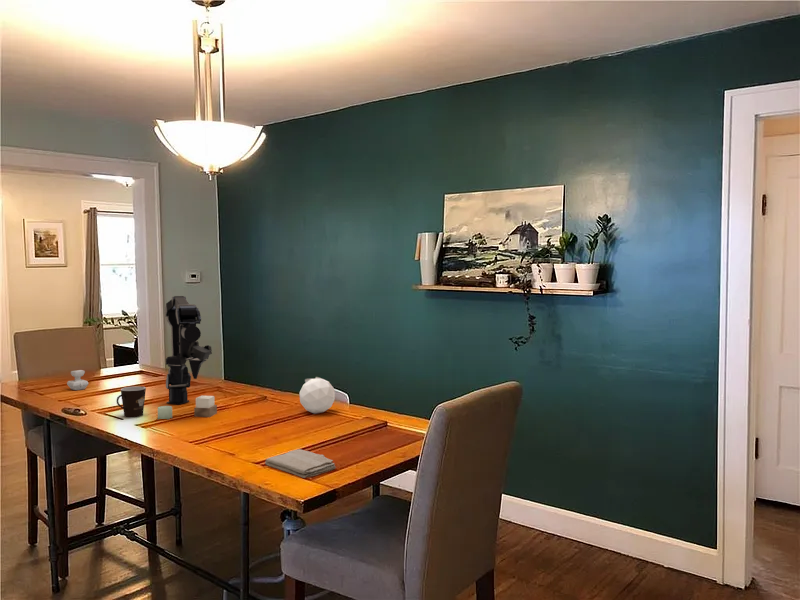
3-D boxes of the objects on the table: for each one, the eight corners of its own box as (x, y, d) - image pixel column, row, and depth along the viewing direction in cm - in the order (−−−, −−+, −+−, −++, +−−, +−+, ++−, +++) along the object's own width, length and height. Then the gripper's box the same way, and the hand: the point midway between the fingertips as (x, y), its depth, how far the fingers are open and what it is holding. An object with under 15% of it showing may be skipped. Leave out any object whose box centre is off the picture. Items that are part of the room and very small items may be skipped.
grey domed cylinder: (154, 419, 229) (154, 408, 229) (163, 416, 234) (163, 405, 234) (166, 420, 228) (166, 409, 227) (175, 417, 232) (175, 406, 232)
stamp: (65, 389, 282) (65, 370, 282) (80, 387, 288) (80, 368, 287) (74, 391, 277) (74, 372, 276) (90, 389, 282) (89, 370, 281)
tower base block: (194, 417, 233) (194, 407, 233) (201, 413, 239) (201, 404, 239) (209, 417, 232) (209, 408, 232) (216, 414, 238) (216, 405, 238)
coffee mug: (140, 411, 240) (140, 385, 240) (150, 415, 234) (149, 388, 234) (108, 416, 232) (108, 389, 232) (117, 420, 226) (117, 393, 225)
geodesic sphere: (289, 401, 233) (312, 372, 234) (289, 394, 246) (311, 366, 247) (320, 424, 235) (343, 394, 236) (319, 415, 249) (340, 387, 249)
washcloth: (306, 480, 166) (306, 469, 166) (263, 466, 177) (263, 455, 177) (338, 469, 175) (338, 458, 175) (295, 456, 186) (295, 446, 186)
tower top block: (195, 407, 233) (195, 398, 233) (201, 404, 238) (201, 395, 238) (208, 408, 233) (208, 398, 233) (214, 405, 238) (214, 396, 238)
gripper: (191, 342, 223) (192, 386, 224) (220, 337, 241) (220, 377, 242) (164, 341, 226) (164, 384, 227) (194, 336, 244) (195, 376, 245)
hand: (187, 380), depth 235 cm, fingers open, 9 cm apart
